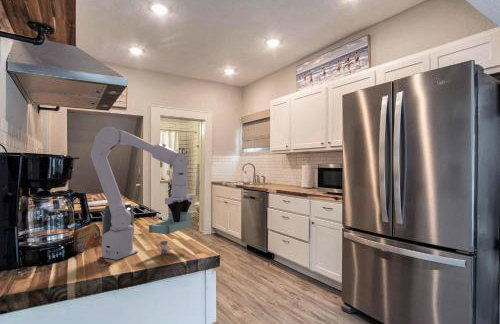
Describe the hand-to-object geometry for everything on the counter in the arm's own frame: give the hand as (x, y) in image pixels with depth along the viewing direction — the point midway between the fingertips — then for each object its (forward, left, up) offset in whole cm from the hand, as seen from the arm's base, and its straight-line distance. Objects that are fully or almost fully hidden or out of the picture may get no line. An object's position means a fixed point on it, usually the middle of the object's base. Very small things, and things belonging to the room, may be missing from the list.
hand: (179, 221), depth 108 cm
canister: (+6, +38, -10) cm, 39 cm away
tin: (-14, +32, -10) cm, 36 cm away
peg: (-10, -1, -10) cm, 14 cm away
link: (-5, 0, -2) cm, 6 cm away
